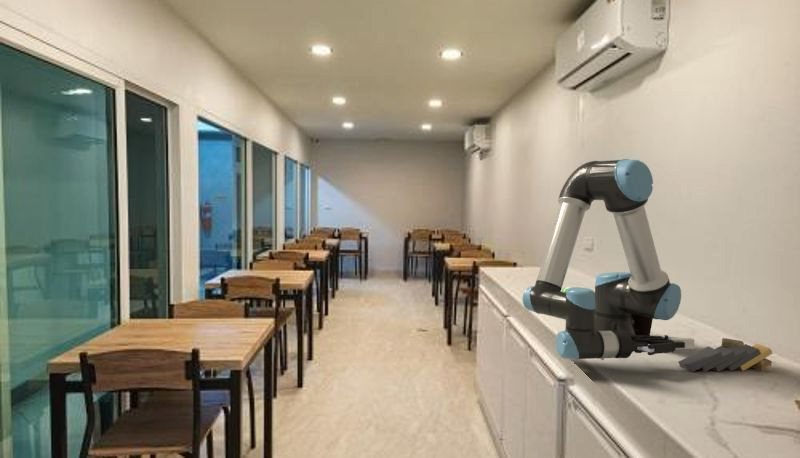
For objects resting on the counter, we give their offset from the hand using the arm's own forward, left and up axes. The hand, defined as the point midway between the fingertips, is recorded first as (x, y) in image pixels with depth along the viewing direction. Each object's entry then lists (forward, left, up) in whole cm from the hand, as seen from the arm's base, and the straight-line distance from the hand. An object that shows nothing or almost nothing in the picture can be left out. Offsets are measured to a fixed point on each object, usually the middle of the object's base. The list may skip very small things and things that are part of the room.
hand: (692, 343), depth 148 cm
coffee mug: (-28, +21, -8) cm, 36 cm away
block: (+10, +18, -8) cm, 22 cm away
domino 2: (+1, +2, -7) cm, 7 cm away
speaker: (-71, +48, -8) cm, 86 cm away
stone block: (+2, +22, -8) cm, 24 cm away
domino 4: (+5, +9, -7) cm, 12 cm away
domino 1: (-1, -2, -7) cm, 7 cm away
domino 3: (+3, +5, -7) cm, 9 cm away
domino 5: (+7, +12, -7) cm, 15 cm away
